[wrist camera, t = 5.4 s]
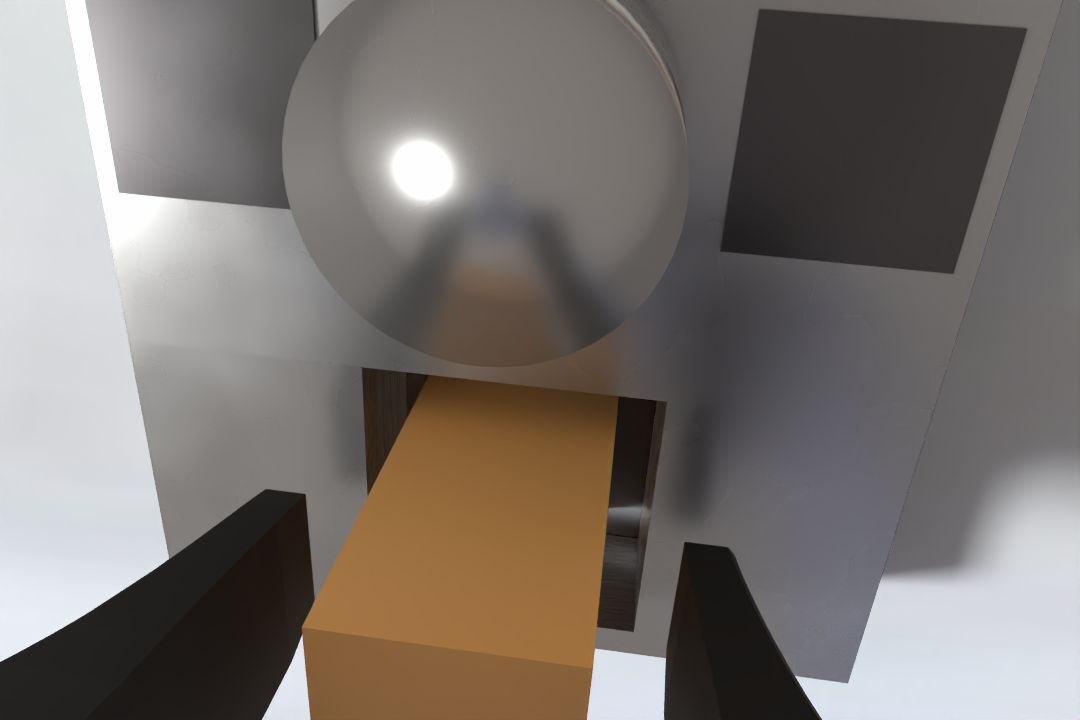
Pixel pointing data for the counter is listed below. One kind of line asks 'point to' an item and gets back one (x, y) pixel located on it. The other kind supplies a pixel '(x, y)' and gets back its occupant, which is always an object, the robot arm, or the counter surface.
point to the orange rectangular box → (471, 563)
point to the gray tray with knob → (563, 254)
